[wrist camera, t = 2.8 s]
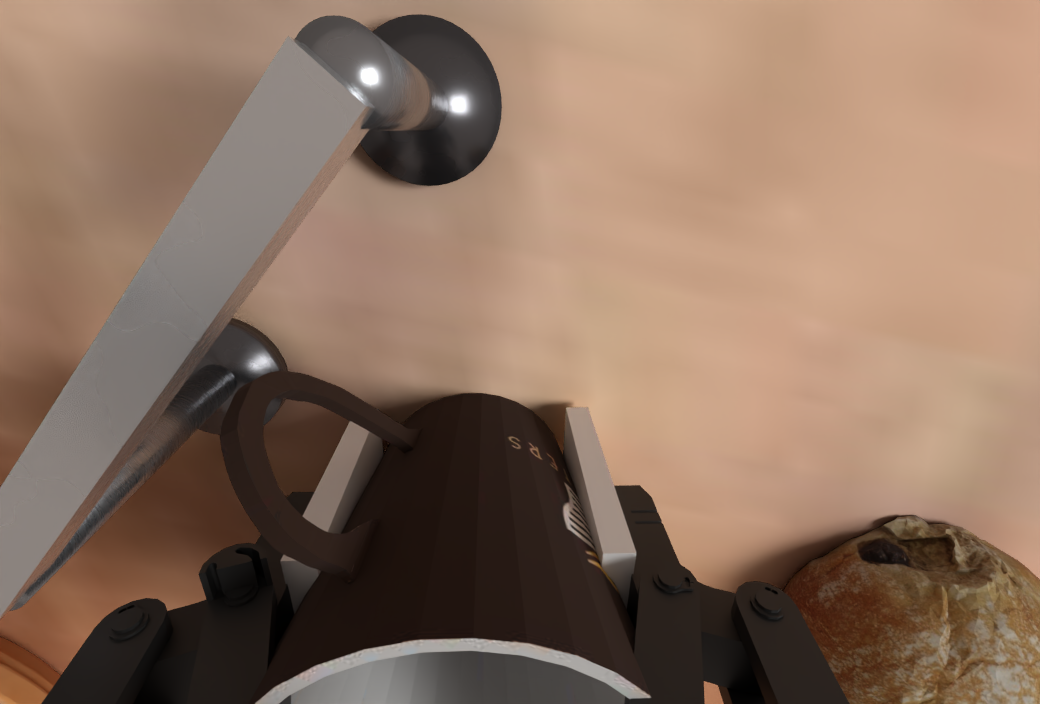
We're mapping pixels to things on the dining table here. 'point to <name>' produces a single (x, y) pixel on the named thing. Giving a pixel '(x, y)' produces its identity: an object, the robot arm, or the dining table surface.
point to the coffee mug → (439, 563)
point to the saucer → (23, 675)
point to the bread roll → (924, 617)
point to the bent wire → (236, 267)
